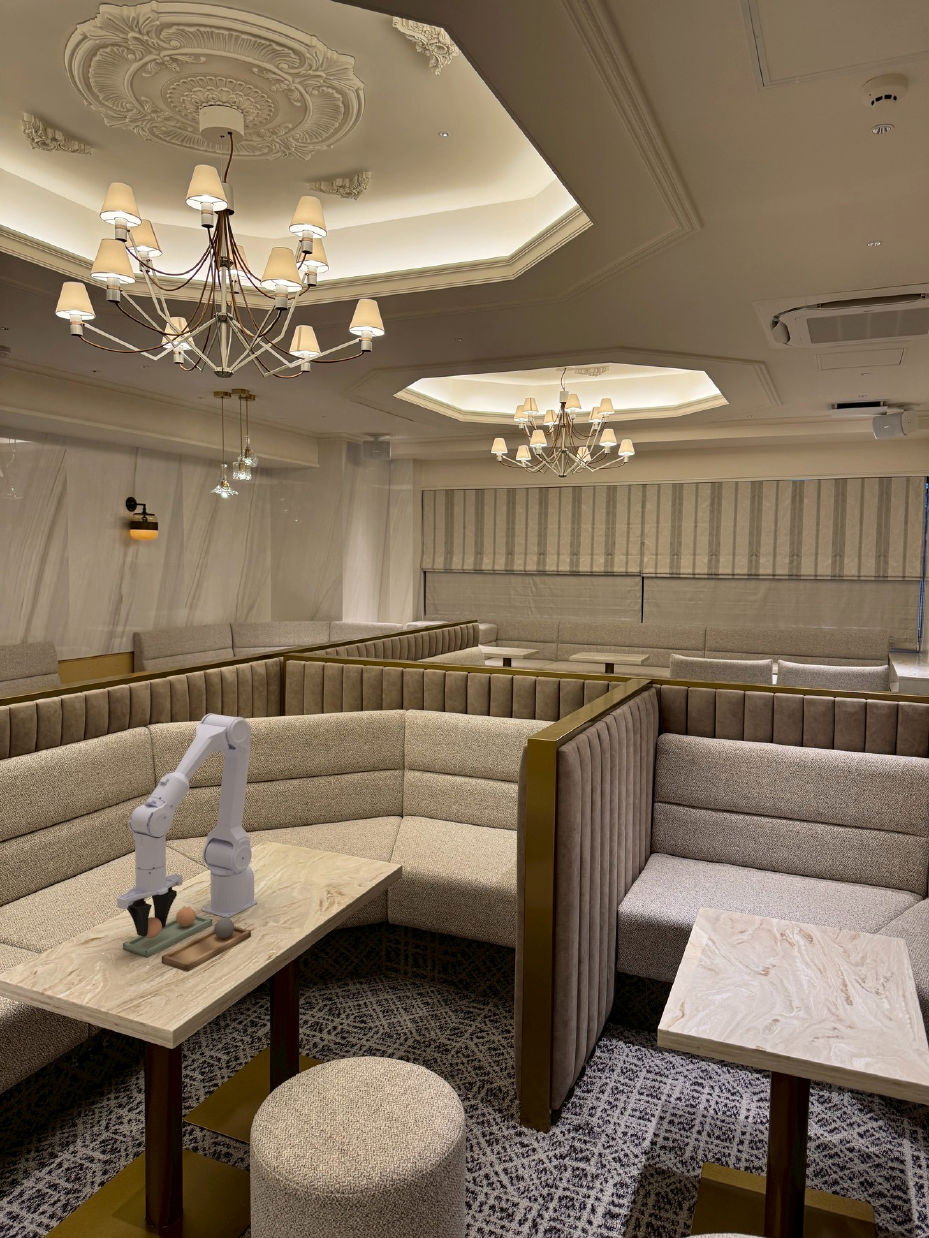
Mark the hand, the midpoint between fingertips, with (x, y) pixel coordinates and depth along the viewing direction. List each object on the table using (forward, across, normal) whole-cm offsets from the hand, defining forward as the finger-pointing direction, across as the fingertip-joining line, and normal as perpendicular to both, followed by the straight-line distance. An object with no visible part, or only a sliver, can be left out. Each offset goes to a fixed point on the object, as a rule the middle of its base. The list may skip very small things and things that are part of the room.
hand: (151, 930), depth 164 cm
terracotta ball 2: (0, +9, 0) cm, 9 cm away
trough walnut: (+3, +4, -11) cm, 12 cm away
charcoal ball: (0, +9, -11) cm, 14 cm away
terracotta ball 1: (-1, 0, 0) cm, 1 cm away
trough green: (+3, +4, 0) cm, 5 cm away
